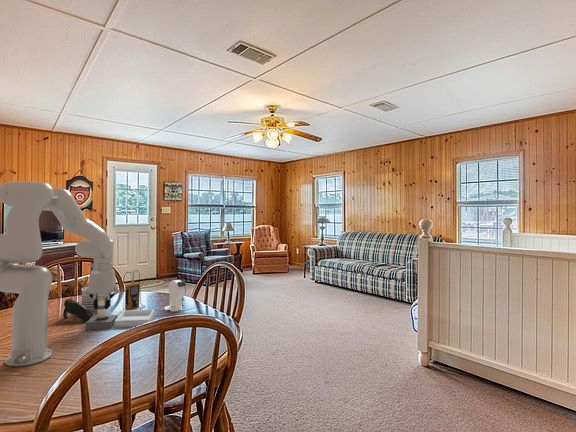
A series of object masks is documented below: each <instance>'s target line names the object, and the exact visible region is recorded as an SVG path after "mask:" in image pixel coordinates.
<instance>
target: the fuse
mask: <svg viewBox="0 0 576 432" xmlns="http://www.w3.org/2000/svg"><path fill="white" fill-rule="evenodd" d="M97 300H98V302H97V313H96V315H95V316H96V318H105V317H107V315H108V313H107V309H105V307H106V300H107V295H102V296H97Z"/></svg>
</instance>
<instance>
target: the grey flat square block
mask: <svg viewBox="0 0 576 432" xmlns="http://www.w3.org/2000/svg"><path fill="white" fill-rule="evenodd" d="M96 316H97V315H93V316H92V318H91V319H90V320H88V321H87V322H85V331H86V330H89V331H91V330H93V331H94V330H111V329H113V327H114V322H115V320H116V319H117V318H118V316H119V314H109V315H108V314H107V317H105V318H96Z"/></svg>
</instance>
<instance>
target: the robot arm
mask: <svg viewBox="0 0 576 432" xmlns="http://www.w3.org/2000/svg"><path fill="white" fill-rule="evenodd" d="M0 202H1V203H3V204H4V205H5V206H8V207H11V208H10V210H9V211H8V213H7V214H6V219H5V225H6V226H5V227H6V229H5V230H6V233H0V292H2V293H11V294H18V296H17V298H16V300H15V302H14V304H13V306H12V312H11V313H12V316H11V317H12V321H11V326H12V327H11V355H8V356H7V357H6V358H5V365H7V366H9V367H25V366H31V365H35V364H39V363H41V362H43V361H47V360H48V359H50V358H51V357H52V356H53V350H52V349H50V348H48V322H49V321H48V318H49V317H48V316H49V315H48V314H49V313H48V311H49V308H48V307H49V295H50V290H51V287H52V283H53V275H52V271H50V270H49V269H48V268H47V267H44V266H41V265H35V264H28V263H34V262H37V261H38V260H40V258H41V257H42V255H43V243H42V237H41V232H40V231H41V230H40V221H39V220H40V216H41V214H42V212H43V211H49V212H52V214H53V215H54V216H55V218H56V219H57V221H58V222H59V223H60V225H61V226H62V228H63V230H65V231H66V232H69V233H72V234H74V235H77V236H79V237H82V238H84V239H82V240H80V241H78V242H77V243H76V245H75V247H74V250H75V253H76V255H78V256H80V258H81V257H82V258H93V263H92V264H89V268H90V269H92V270H91V271H90V274H89V280H88V286H89V287H88V289H87V290H86V292H85V294H86V295H88V296H90V297H91V298H92V299H93V300H94V302H93V307H94V309H95V310H96V309H97V302H98V300H97V296H98V294H106V296H107V300H106V307H105V309H106V310H108V309H109V308H110V307H111V303H112V300H111V299H112V298H113V297H115V296H116V295H118V294H119V293H120V290H119V287H117V281H116V278H117V277H116V272H115V269H114V249H115V248H114V246H115V243H114V240H113V239H110V237H109V235H108V233H107V232H106V230H104V229H103V228H102V227H100V226H99V225H98V224H96V223H95V222H93V221H92V220H90V219H89V218H87V217H86V216H85V214H84V212H83V210H82V209H81V207H80V206H79V204H78V202H77V201H76V199H75V198H74V196H73V194H72V193H71V192H70V191H69V190H67V189H66V188H65V189H64V188H60V187H59V188H57V187H52V186H51V185H50V184H49V183H47V182H42V181H8V182H5V183H2V184H1V185H0ZM26 263H27V264H26Z"/></svg>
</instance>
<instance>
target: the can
mask: <svg viewBox="0 0 576 432" xmlns="http://www.w3.org/2000/svg"><path fill="white" fill-rule="evenodd" d="M88 287H89V285H87V286H85V287H81V305H83V306H84V307H86V308H87V309H88V310H90V311H91V312H92V314H94V313H95V314H97V309H96V310H95V309H94V307H93V302H94V300H93V299H92V298H91V297H90V296H88V295H86V294H85V292H86V290H87V289H88ZM102 295H106V294H98V296H102ZM106 296H107V295H106Z"/></svg>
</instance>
